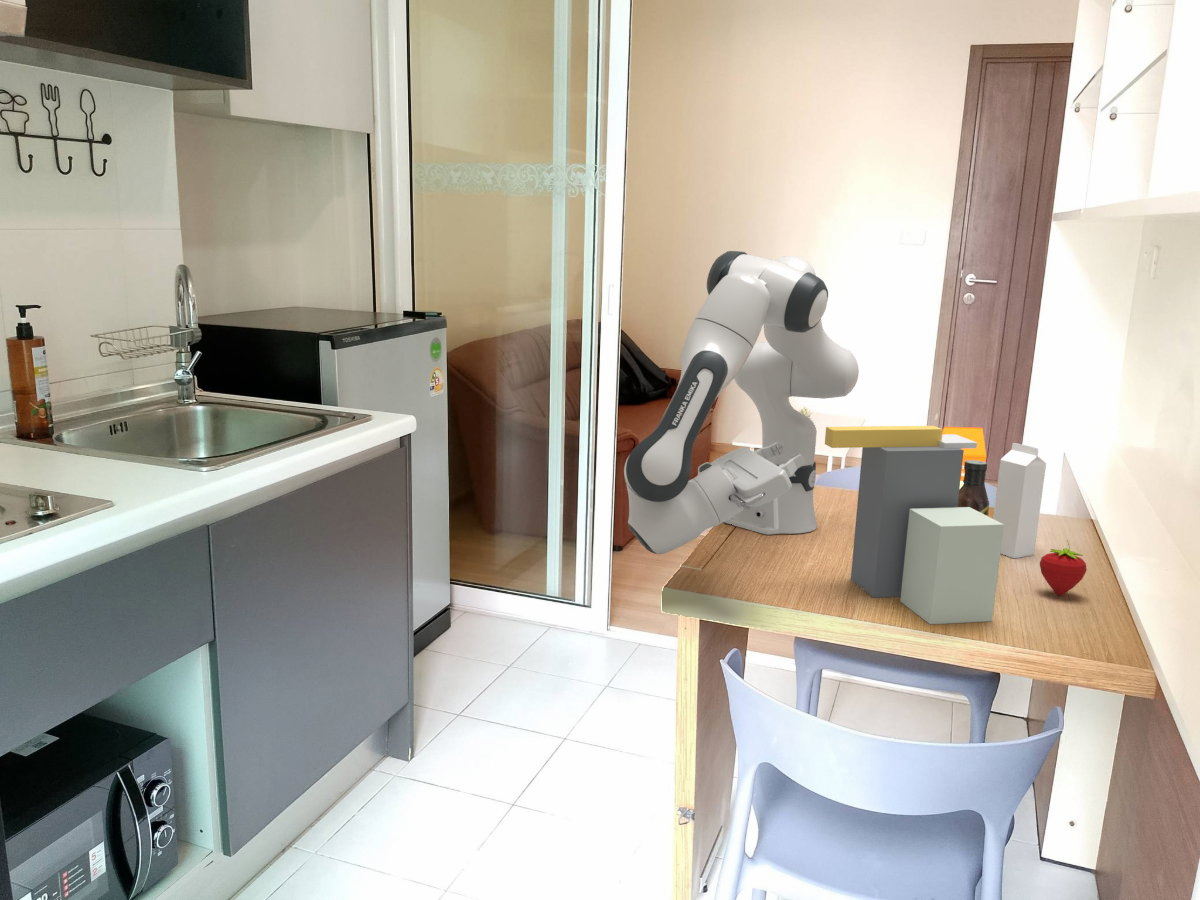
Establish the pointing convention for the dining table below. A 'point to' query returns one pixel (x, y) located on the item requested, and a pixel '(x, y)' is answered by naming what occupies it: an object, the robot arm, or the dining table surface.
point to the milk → (1019, 499)
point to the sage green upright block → (951, 564)
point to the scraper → (894, 437)
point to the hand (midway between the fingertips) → (791, 451)
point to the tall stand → (897, 508)
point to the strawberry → (1062, 570)
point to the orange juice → (972, 453)
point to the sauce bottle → (974, 487)
